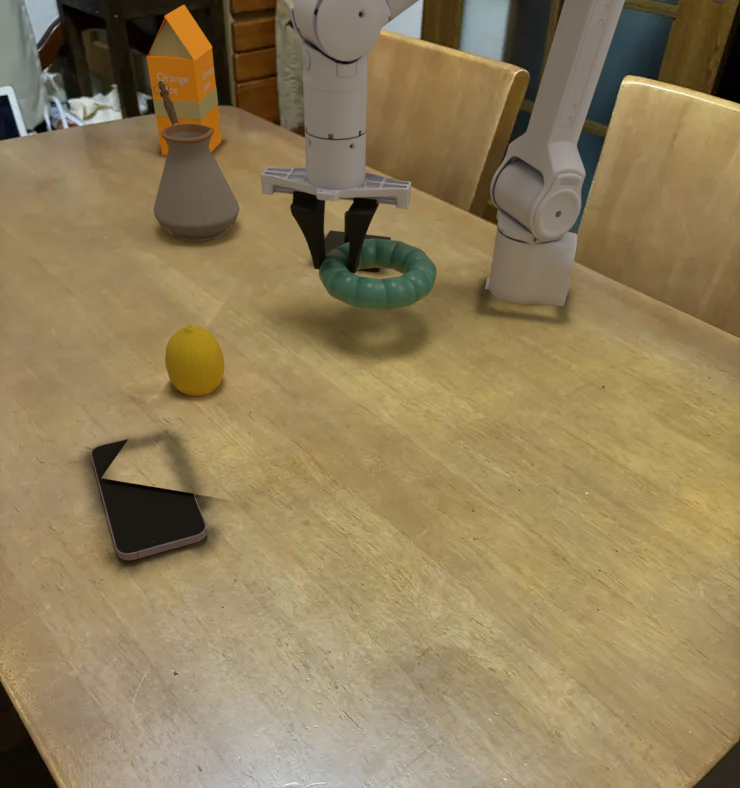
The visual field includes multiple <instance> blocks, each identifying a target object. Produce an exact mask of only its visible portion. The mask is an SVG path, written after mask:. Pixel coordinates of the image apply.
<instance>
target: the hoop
mask: <svg viewBox="0 0 740 788" xmlns="http://www.w3.org/2000/svg"><path fill="white" fill-rule="evenodd" d="M348 258H349V242H347V243H345V244H343V245H341V246H339V247H337V248H335V249H332V250H331V251H329V252H328V254H327V255H326V257H325V259H324V260H323V262H322V264H321V266H320V269H318V277H319V280H320V282H321V283H322V286H323V287H324V289H325V290H326V292H327V294H329V295H330V296H331V298H333V299H335V300H338V301H340V302H342V303H345V304H346V305H349V306H351V307H352V308H358V309H367V310H375V311H387V310H393V309H401V308H407V307H410V306H412V305H414V304H415V303H417V302H419V301H421V300H422V299H424V298H425V297H428V296H429V295H430V294H431V293H432V291H433V288H434V285H435V281H436V278H437V274H438V273H437V271H438V270H437V267H436V264H435V263H434V261H433V260H431V258H430V257H429V256H428V255H427V254H426V252H425V251H424V250H422V249H421V248H419V247H416V246H414V245H411V244H409V243H405V242H403V241H401V240H395V239H394V240H393V239H391V240H386V239H377V238H373V239H365V240H364V242H363V246H362V250H361V254H360V260H359V266H358V268H357V271H360V270H359V269H367V268H374V267H376V268H380V269H386V270H393V271H396V272H398V273H401V274H402V275H400V276H393V277H386V278H376V277H375V278H374V277H368V276H366V277H365V276H361V275H358V274H356V273H352V272H350V271H349V270H348Z"/></svg>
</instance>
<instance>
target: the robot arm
mask: <svg viewBox="0 0 740 788" xmlns="http://www.w3.org/2000/svg"><path fill="white" fill-rule="evenodd" d="M563 1H564V2H563V5H562V8H561V12H560V15H559V19H558V22H557V25H556V29H555V32H554V36H553V38H552V39H553V40H552V43H551V46H550V49H549V53H548V56H547V59H546V62H545V66H544V71H543V73H542V77H541V81H540V84H539V88H538V91H537V94H536V96H535V101H534V105H533V108H532V111H531V115H530V117H529V121H528V125H527V128H526V131H525V132H524V133H523V134H522V135H520V136H519V137H517V138H516V139H514V140H513V141H511V142H510V143H509V144H508V147H507V149H506V153H505V156H504V159H503V161H502V162H501V164H500V165H499V166H498V168H497V170H496V171H495V172H494V174H493V176H492V179H491V181H490V186H489V197H490V200H491V202H492V205H493V206H494V207H495V208H496V209H497V211H496V217H495V218H496V220H497V226H496V232H495V238H494V246H493V254H492V259H491V265H490V266H491V267H490V273H489V276H488V277H487V278H486V280H485V281H486V282H485V287H484V289H485V290H489V292H490V293H491V294H492V295H493V296H494V297H496V298H497V299H499V300H502V301H504V302H508V303H512V304H519V305H523V304H524V305H529V304H530V305H531V304H533V305H536V304H537V305H545V306H546V305H547V306H553V307H554V306H556V307H565V303H566V299H567V297H568V296H569V292H570V287H571V277H572V272H573V268H574V264H575V258H576V252H577V245H578V233H575V232H570V230H571V229H572V228H573V226H574V225H575V223H576V222H577V220H578V218H579V216H580V213H581V208H582V187H583V185H584V181H585V178H586V176H587V175H586V169H585V167H584V164H583V160H582V158H581V155H580V153H579V149H578V142H579V140H580V136H581V133H582V130H583V127H584V125H585V121H586V118H587V115H588V113H589V109H590V106H591V104H592V100H593V98H594V94H595V91H596V88H597V85H598V82H599V80H600V77H601V74H602V71H603V68H604V64H605V61H606V59H607V55H608V53H609V50H610V47H611V44H612V40H613V38H614V34H615V31H616V29H617V26H618V23H619V20H620V17H621V14H622V10H623V7H624V4H625V2H626V0H563ZM417 2H420V0H294V2H293V7H291V8H290V9H289V17H290V21H291V24H292V27H293V29H294V31H295V32H296V35H297V36H298V37H299V38H300V40H301V41H302V42H301V43H302V89H303V94H302V95H303V123H304V124H303V125H304V150H305V151H304V152H305V167H269V166H267V167H265V169H264V170H263V171H262V172H261V174H260V181H261V194H262V195H270V196H271V195H274V193H277V194H287V195H292V203H291V204H290V205H289V208H290V213H291V216H292V217H293V219H294V220H295V221H296V224H297V225H298V227H299V228H300V230H301V232H302V234H303V237H304V239H305V241H306V244H307V247H308V250H309V253H310V257H311V260H312V264H313V265H312V266H313V269H314V270H319V269H320V266H321V264H322V262H323V260H324V259H325V238H326V236H325V215H326V214H325V212H326V201H328V202H336V201H338V200H343V201H352V203H351V205H350V206H349V208H348V210H347V211H348V212H347V221H348V230H349V258H348V270H349V271H350V272H352V273H354V274H356V273H357V271H358V270H357V268H358V266H359V260H360V254H361V250H362V246H363V242H364V239H365V236H366V234H368V230H369V227H370V225H371V223H372V220H373V218H374V216H375V214H376V213H377V210H378V208H379V205H380V204H381V205H391V206H395V207H396V209H400V210H401V209H402V210H407V209H408V207H409V205H410V202H411V194H412V193H411V192H412V181H407V180H400V179H395V178H392V177H391V178H390V177H387V176H383V175H380V174H375V173H371V172H367V171H366V162H367V161H366V159H367V157H366V156H367V152H366V151H367V114H368V113H367V112H368V111H367V109H368V107H367V106H368V105H367V104H368V55H369V54H370V53H371V52H372V51H373V50H374V48H375V46H376V44H377V43H378V41H379V37H380V34H381V31H382V29H383V28H384V27H385V26H387V24H389V23H390V22H392V21H393V20H394V19H396V18H397V17H398V16H400V15H401V14H403V13H405V11H407V10H408V9H409V8H411V7H412V6H413V5H415V4H416V3H417Z"/></svg>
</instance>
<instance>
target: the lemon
mask: <svg viewBox="0 0 740 788" xmlns="http://www.w3.org/2000/svg"><path fill="white" fill-rule="evenodd" d="M164 356H165V358H164V361H165V363H164V364H165V369H166V372H167V375H168V378H169V380H170V382H171V383H172V385H173V386H174V387H175V388H176V390H178V391H179V392H181V393H182V394H184V395H186V396H191V397H200V396H201V397H202V396H206V395H209V394H211V393H213V392H214V391H215V390H217V388H218V387H219V386H220V384H221V383H222V381H223V377H224V373H225V359H224V354H223V350H222V348H221V345H220V344H219V341H218V340H217V338H216V337H215V336H214V335H213V334H212V333H211V332H210V331H209V330H207V329H205V328H203V327H200V326H196V325H191V324H189V325H186V326H183V327H182V328H180V329H178V330H176V331H175V332H174V333H173V334H172V335H171V336H170V338H169V339H168V341H167V343H166V349H165V355H164Z"/></svg>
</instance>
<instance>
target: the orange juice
mask: <svg viewBox="0 0 740 788" xmlns="http://www.w3.org/2000/svg"><path fill="white" fill-rule="evenodd" d="M163 17H164V19H163V20H162V22H161V25H160V28H159V29H158V31H157V34H156V36H155V38H154V40H153V43H152V45H151V47H150V49H149V52H148V54H147V55H146V62H147V68H148V75H149V80H150V87H151V93H152V102H153V103H152V104H153V109H154V115H155V120H156V125H157V131H158V137H159V145H160V151H161V152H160V153H161V155H162V156H167V153H168V149H169V148H168V146H167V143H166V140H165V139H164V138H163V137H162V136H161V131H162V130H163V129H164V128H166V127H168V126H171V125H172V123H171V121H170V119H169V116H168V114H167V112H166V110H165V107H164V102H163V98H162V97H161V96H160V95H158V94H156V93H155V92H157V93H160V91H161V90H160V89H159V85H157V86H156V87H155V89H154V90H155V92H154V90H153V88H154V85H156V84H157V83H158V82H159V81H162V82H163V83H166V84H168V85H169V86H168V85H166V84H164V85H165V87H166V88H165V89H166V90H169V87H170V90H169V98H170V99H171V101H172V103H173V105H174V109H175V112H176V116H177V119H178V123H179V124H185V123H193V124H201V125H205V126H208V127H211V128H213V129H214V133H213V135H212V137H211V140H210V144H209V149H210V151H211V152H212V153H213V151H214V150H215V149H216V148H217V147H218V146H219V145H220V144H221V143H222V141H223V140H222V133H221V131H222V130H221V122H220V113H219V100H218V89H217V83H216V73H215V72H216V71H215V65H214V63H215V62H214V55H213V54H214V53H213V46H212V44H211V42H210V40H209V39H208V38H207V37H206V35H205V33H204V32H203V30H202V29H201V28H200V26H199V24H198V22H197V21H196V20H195V19H194V17H193V15H192V14H191V13H190V11H189V9H188V7H187V6H186V5H185V4H182V5H180V6H178V7H177V8H175V9H174V10H172V11H170V12H168V13H167V14H165V15H164V16H163Z"/></svg>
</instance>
